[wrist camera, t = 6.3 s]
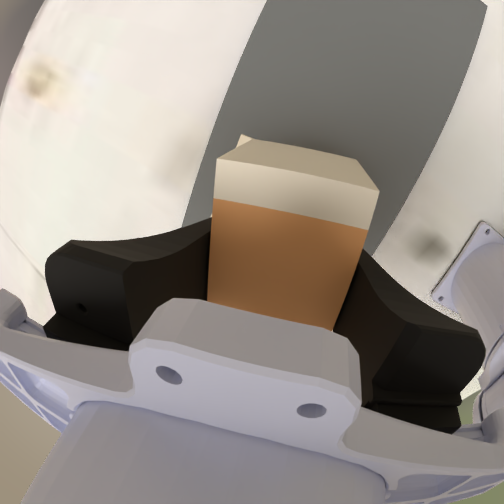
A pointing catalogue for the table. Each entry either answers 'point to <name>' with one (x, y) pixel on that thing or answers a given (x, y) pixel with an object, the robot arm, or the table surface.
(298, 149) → the card box
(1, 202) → the table surface
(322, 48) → the mat
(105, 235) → the table surface
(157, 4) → the table surface
